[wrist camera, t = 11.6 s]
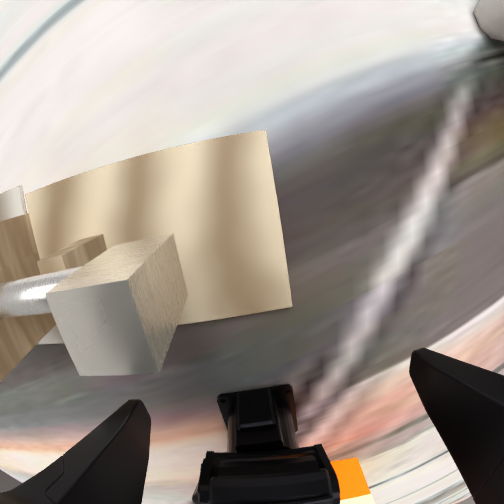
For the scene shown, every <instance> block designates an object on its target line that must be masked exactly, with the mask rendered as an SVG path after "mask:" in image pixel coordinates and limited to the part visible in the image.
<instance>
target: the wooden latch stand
mask: <svg viewBox="0 0 504 504" xmlns="http://www.w3.org/2000/svg"><path fill="white" fill-rule="evenodd" d="M25 196H26V202H27V207H28V212H29V213H28V214H27V212H26V207H25V201H24V196H23V190H22V185H19V186H17V187H15V188H12V189H10V190H8V191H6V192H4V193H2V194H0V283H5V282H9V281H14V280H19V279H23V278H28V277H33V276H37V275H42V274H47V273H52V272H57V271H62V270H66V269H71V268H76V267H81V266H84V265H85V264H87V263H88V262H90V261H91V260H93V259H94V258H96V257H97V256H99V255H100V254H102V253H103V252H105V251H106V250H108V249H109V248H111V247H113V246H114V245H118V244H123V243H127V242H132V241H137V240H142V239H147V238H152V237H157V236H162V235H167V234H172V233H174V238H175V242H176V247H177V251H178V255H179V260H180V264H181V268H182V272H183V276H184V280H185V284H186V288H187V292H188V297H187V300H186V303H185V305H184V308H183V311H182V313H181V316H180V319H179V321H178V324H177V325H181V324H188V323H196V322H203V321H210V320H216V319H223V318H229V317H235V316H242V315H248V314H254V313H259V312H265V311H271V310H276V309H282V308H287V307H292V300H291V292H290V285H289V277H288V270H287V263H286V256H285V249H284V242H283V235H282V228H281V222H280V215H279V209H278V202H277V196H276V190H275V184H274V177H273V171H272V165H271V159H270V154H269V148H268V142H267V136H266V131H265V130H262V131H255V132H249V133H243V134H237V135H231V136H225V137H220V138H215V139H209V140H204V141H200V142H195V143H190V144H186V145H181V146H177V147H172V148H168V149H164V150H160V151H156V152H152V153H148V154H144V155H141V156H137V157H133V158H130V159H126V160H123V161H119V162H116V163H112V164H109V165H106V166H103V167H99V168H96V169H93V170H90V171H87V172H84V173H81V174H78V175H75V176H72V177H70V178H67V179H64V180H61V181H58V182H56V183H53V184H50V185H48V186H45V187H43V188H40V189H38V190H35V191H33V192H30V193H28V194H25ZM57 343H64V341H63V339H62V336H61V334H60V332H59V329H58V327H57V325H56V322H55V320H54V317H53V315H52V313H46V314H37V315H28V316H18V317H8V318H0V383H1V381H2V380H3V379H4V378H5V377H6V376H7V375H8V374H9V373H10V372H11V370H12V369H13V368H14V367H15V366H16V365H17V364H18V363H19V362H20V361H21V360H22V359H23V358H24V357H25V356H26V355H27V354H28V352H29V351H30V350H31V349H32V348H33V347H34V346H35V345H36V344H57Z"/></svg>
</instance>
